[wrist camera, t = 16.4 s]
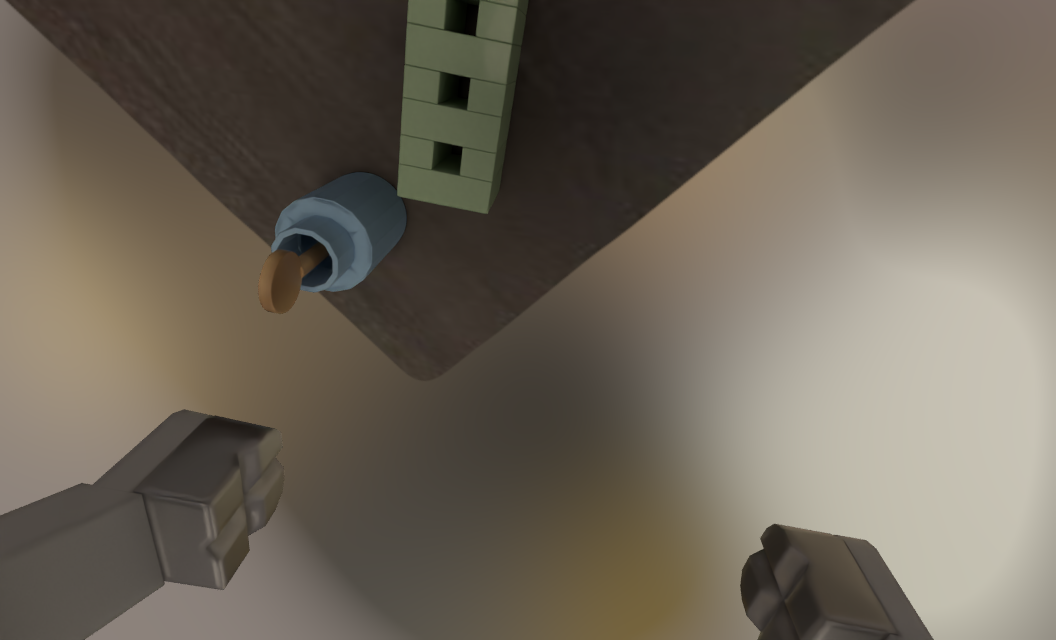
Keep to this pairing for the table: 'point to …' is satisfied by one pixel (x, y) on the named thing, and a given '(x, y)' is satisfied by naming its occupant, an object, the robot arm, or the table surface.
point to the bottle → (343, 229)
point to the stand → (458, 100)
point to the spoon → (286, 276)
